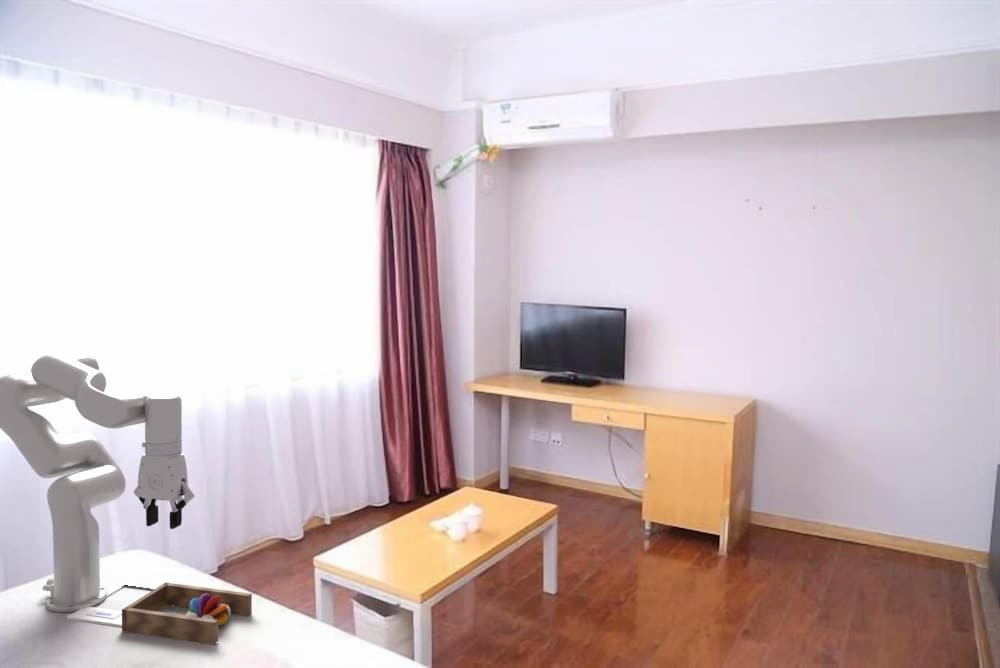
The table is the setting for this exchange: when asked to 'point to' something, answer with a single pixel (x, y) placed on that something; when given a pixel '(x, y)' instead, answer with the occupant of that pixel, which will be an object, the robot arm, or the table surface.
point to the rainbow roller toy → (209, 608)
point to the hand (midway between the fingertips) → (163, 524)
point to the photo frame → (101, 613)
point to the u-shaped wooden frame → (181, 627)
